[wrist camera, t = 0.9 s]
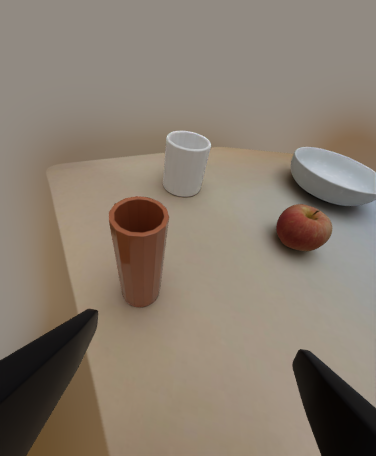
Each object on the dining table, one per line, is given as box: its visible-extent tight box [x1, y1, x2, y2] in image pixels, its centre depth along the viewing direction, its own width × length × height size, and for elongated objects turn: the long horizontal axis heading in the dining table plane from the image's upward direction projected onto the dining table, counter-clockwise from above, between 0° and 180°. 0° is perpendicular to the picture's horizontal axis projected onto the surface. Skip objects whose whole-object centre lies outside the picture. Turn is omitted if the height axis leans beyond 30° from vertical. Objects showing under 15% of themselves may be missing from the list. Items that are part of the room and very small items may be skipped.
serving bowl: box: [291, 147, 376, 206], centre depth 48 cm, size 21×21×7 cm
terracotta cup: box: [109, 196, 169, 307], centre depth 20 cm, size 5×5×13 cm
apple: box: [276, 204, 332, 251], centre depth 33 cm, size 8×8×8 cm
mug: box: [163, 131, 211, 197], centre depth 40 cm, size 8×12×10 cm, turn 165°
